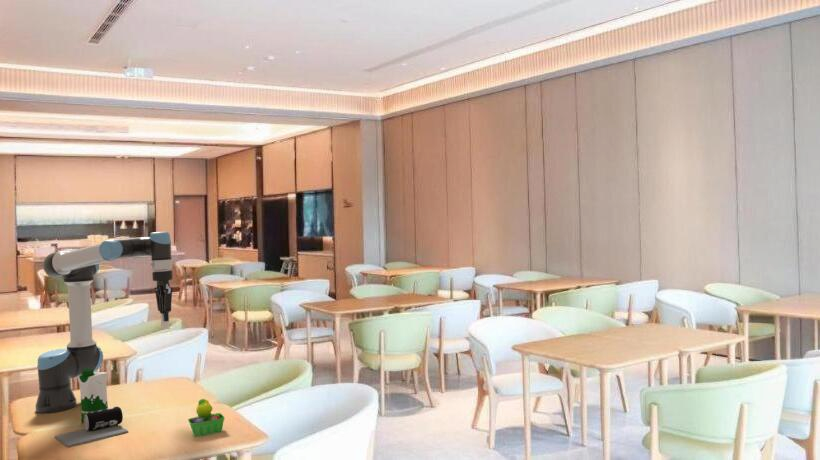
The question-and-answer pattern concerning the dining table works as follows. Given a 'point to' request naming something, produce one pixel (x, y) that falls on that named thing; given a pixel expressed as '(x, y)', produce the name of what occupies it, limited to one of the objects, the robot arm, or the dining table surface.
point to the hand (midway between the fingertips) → (165, 329)
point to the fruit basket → (206, 420)
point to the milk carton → (92, 391)
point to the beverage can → (103, 418)
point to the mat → (89, 435)
